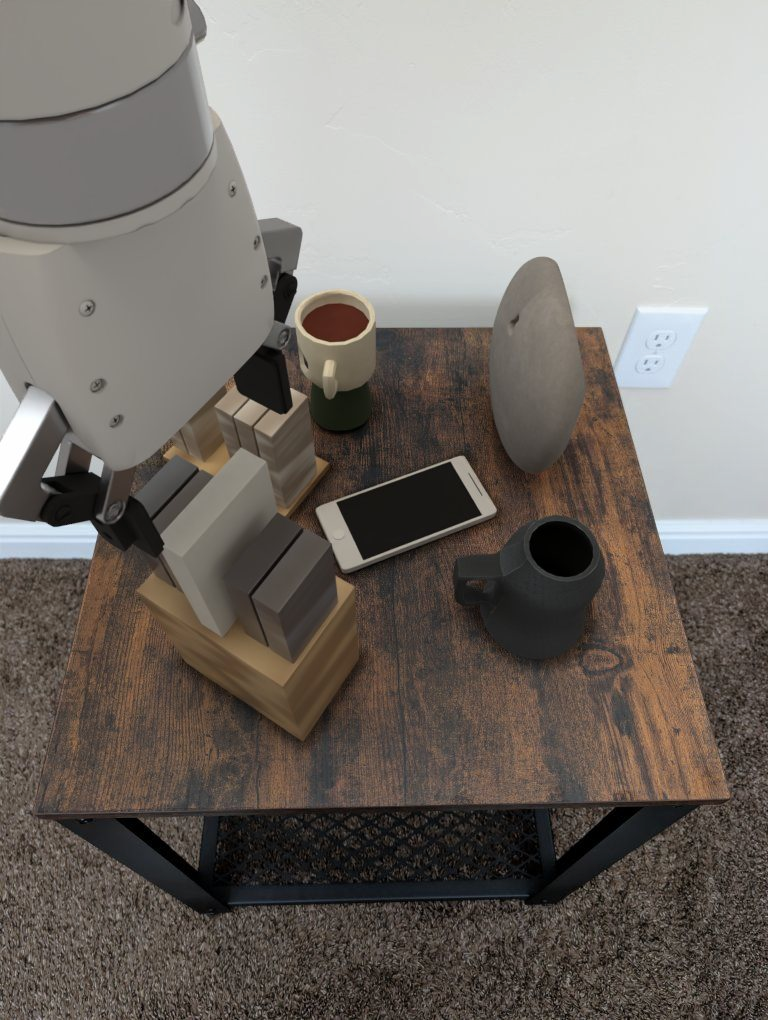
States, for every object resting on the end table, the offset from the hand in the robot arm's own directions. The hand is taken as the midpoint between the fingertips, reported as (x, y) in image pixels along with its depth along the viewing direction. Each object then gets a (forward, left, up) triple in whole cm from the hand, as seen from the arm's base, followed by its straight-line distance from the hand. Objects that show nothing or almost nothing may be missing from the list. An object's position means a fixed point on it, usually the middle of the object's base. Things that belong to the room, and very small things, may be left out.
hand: (205, 465), depth 34 cm
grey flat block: (0, 0, -14) cm, 14 cm away
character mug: (-10, +25, -28) cm, 39 cm away
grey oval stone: (+6, +32, -28) cm, 43 cm away
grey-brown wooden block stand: (-14, +14, -28) cm, 35 cm away
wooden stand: (0, 0, -28) cm, 28 cm away
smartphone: (+2, +18, -28) cm, 33 cm away
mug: (+15, +15, -28) cm, 35 cm away
